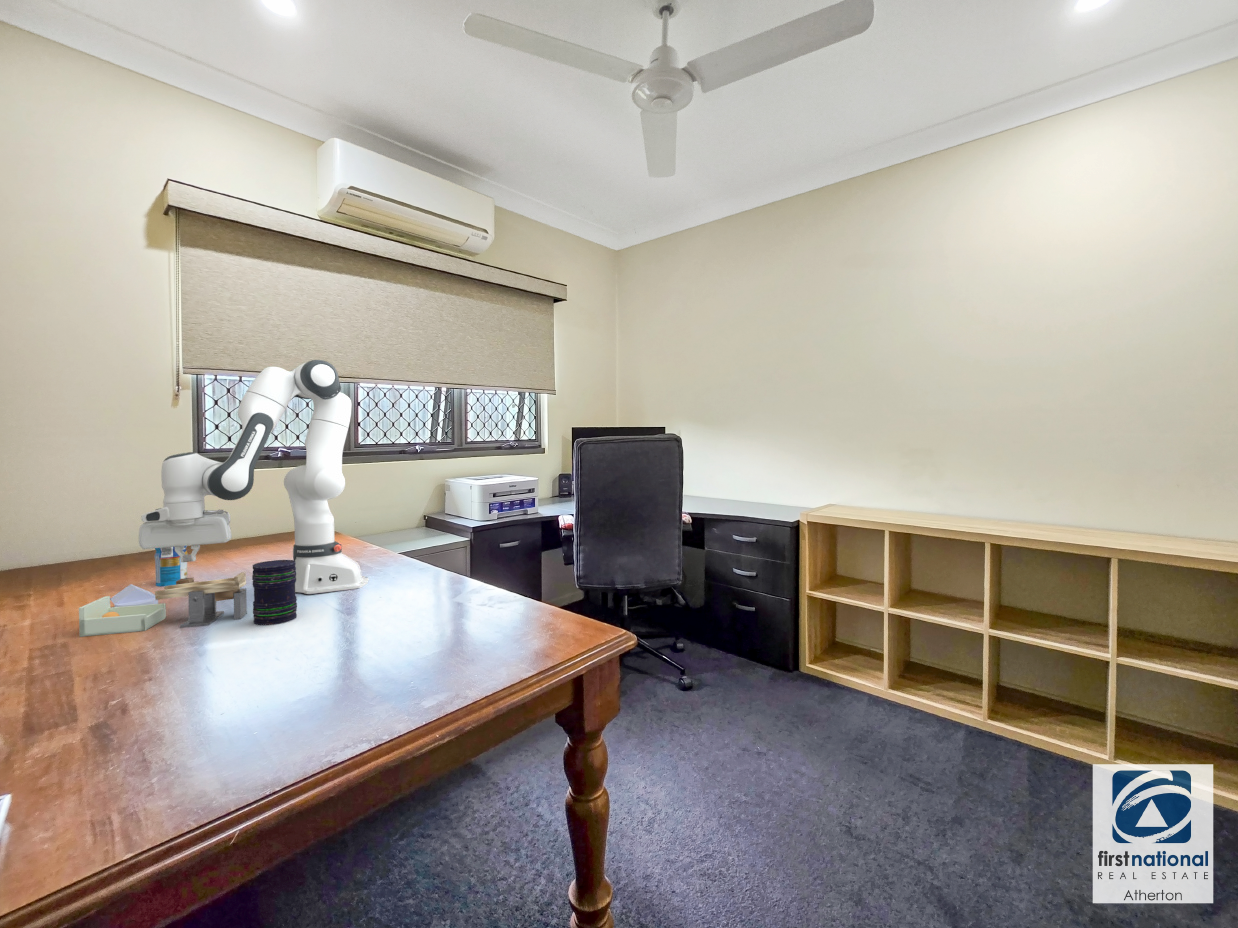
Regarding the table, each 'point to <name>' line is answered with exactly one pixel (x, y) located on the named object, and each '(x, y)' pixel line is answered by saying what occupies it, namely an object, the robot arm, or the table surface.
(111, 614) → the ball
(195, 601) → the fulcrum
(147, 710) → the table surface
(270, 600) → the dark barrel
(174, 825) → the table surface
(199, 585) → the lever
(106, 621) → the tray
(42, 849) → the table surface
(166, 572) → the beverage bottle
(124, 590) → the wedge on round base
